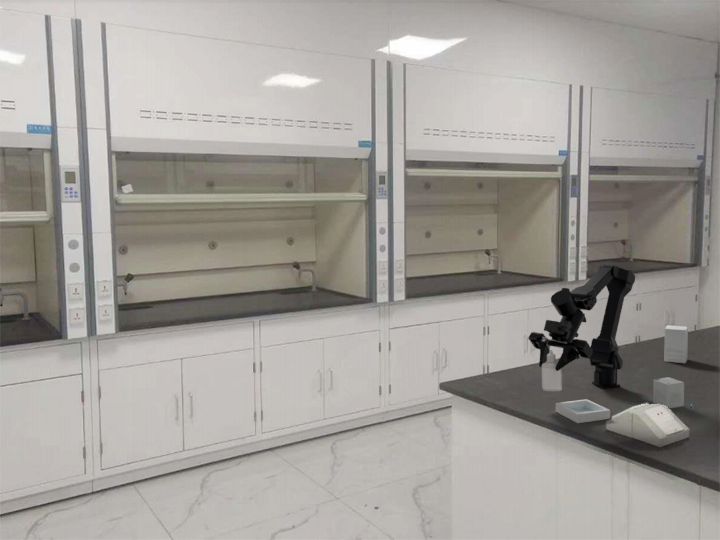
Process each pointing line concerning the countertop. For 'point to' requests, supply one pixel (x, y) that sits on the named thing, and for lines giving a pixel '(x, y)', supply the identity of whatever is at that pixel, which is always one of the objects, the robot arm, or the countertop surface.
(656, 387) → the skincare box
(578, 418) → the square tray
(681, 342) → the supplement box
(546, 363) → the eye dropper bottle
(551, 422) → the countertop surface
